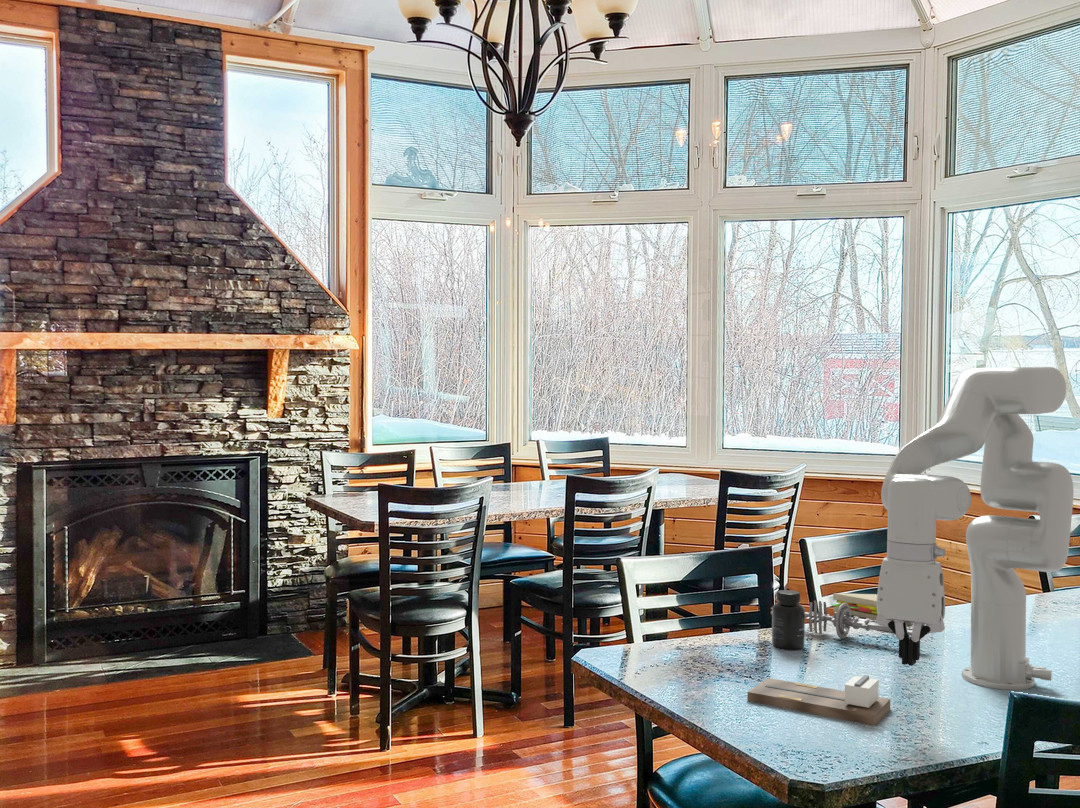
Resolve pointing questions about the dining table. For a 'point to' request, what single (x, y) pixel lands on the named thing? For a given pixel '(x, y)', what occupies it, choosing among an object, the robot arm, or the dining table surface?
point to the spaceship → (843, 620)
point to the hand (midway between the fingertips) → (909, 663)
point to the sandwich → (858, 604)
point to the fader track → (816, 701)
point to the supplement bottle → (788, 621)
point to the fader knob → (861, 691)
